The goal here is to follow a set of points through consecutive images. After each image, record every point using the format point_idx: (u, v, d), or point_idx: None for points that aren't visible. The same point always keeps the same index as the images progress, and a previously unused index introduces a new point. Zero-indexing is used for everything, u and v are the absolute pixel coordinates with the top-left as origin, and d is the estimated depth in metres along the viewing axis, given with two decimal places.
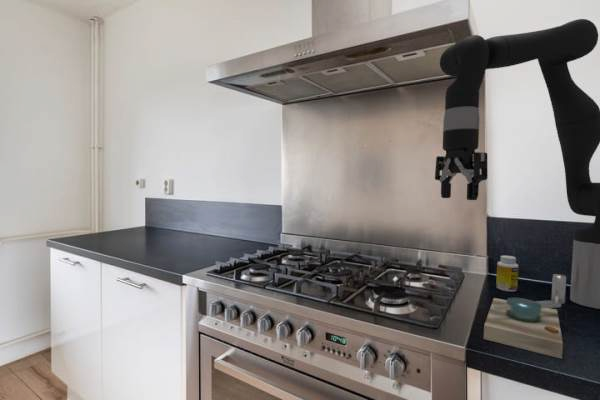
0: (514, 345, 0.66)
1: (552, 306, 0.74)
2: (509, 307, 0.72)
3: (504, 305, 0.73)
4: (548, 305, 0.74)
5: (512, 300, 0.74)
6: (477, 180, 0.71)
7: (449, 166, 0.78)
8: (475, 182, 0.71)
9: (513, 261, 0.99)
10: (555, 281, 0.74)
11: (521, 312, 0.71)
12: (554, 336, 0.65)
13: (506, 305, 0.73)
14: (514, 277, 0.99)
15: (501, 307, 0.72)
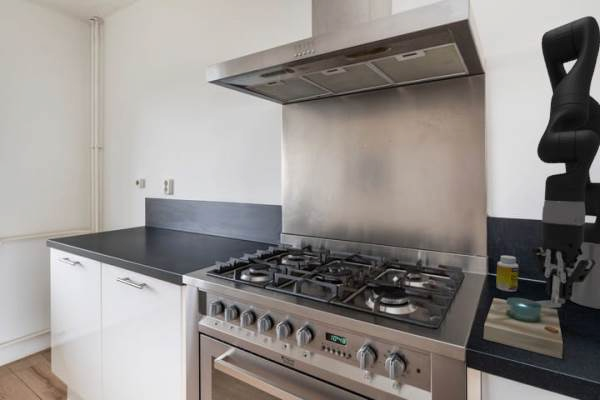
0: (514, 345, 0.66)
1: (552, 306, 0.74)
2: (509, 307, 0.72)
3: (504, 305, 0.73)
4: (548, 305, 0.74)
5: (512, 300, 0.74)
6: None
7: None
8: None
9: (513, 261, 0.99)
10: (555, 281, 0.74)
11: (521, 312, 0.71)
12: (554, 336, 0.65)
13: (506, 305, 0.73)
14: (514, 277, 0.99)
15: (501, 307, 0.72)
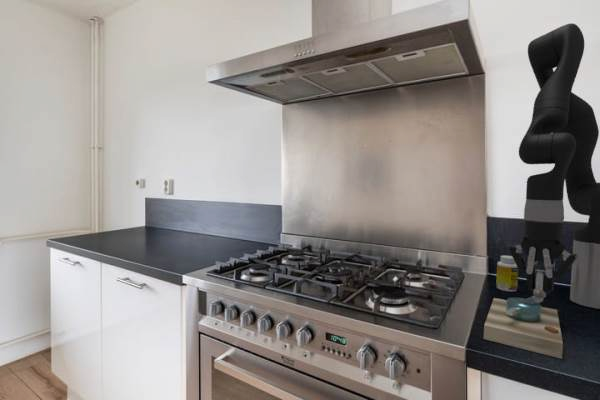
0: (514, 345, 0.66)
1: (539, 301, 0.77)
2: (518, 310, 0.71)
3: (513, 309, 0.71)
4: (537, 301, 0.76)
5: (513, 302, 0.74)
6: None
7: None
8: None
9: (513, 261, 0.99)
10: (539, 277, 0.77)
11: (529, 313, 0.70)
12: (554, 336, 0.65)
13: (515, 308, 0.71)
14: (514, 277, 0.99)
15: (514, 311, 0.69)
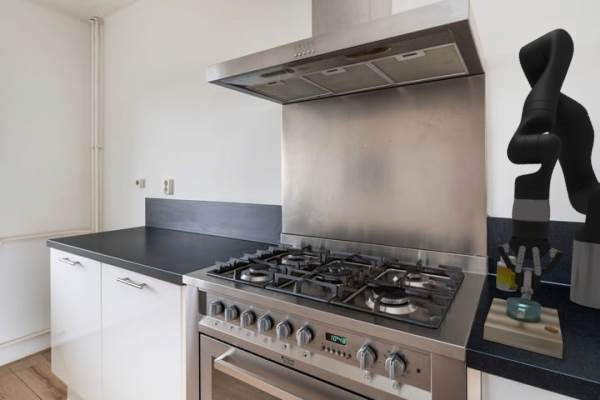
0: (514, 345, 0.66)
1: None
2: (525, 311, 0.70)
3: (521, 310, 0.70)
4: (529, 299, 0.77)
5: (515, 303, 0.73)
6: None
7: None
8: None
9: (513, 261, 0.99)
10: (528, 275, 0.79)
11: (533, 313, 0.70)
12: (554, 336, 0.65)
13: (521, 310, 0.70)
14: (514, 277, 0.99)
15: (523, 314, 0.68)
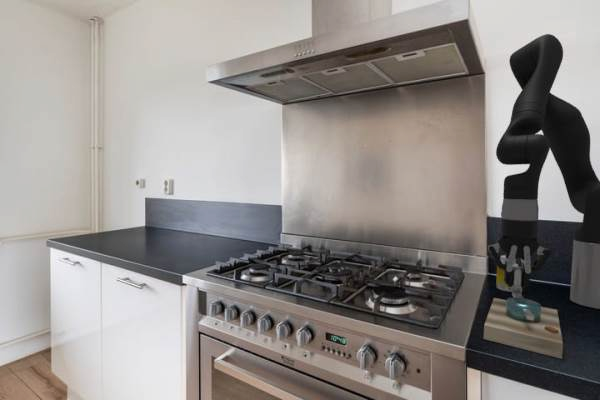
0: (514, 345, 0.66)
1: None
2: None
3: (528, 312, 0.69)
4: (522, 297, 0.78)
5: (517, 303, 0.73)
6: None
7: None
8: (503, 269, 0.82)
9: None
10: (519, 274, 0.80)
11: (537, 313, 0.70)
12: (554, 336, 0.65)
13: (527, 311, 0.69)
14: None
15: None
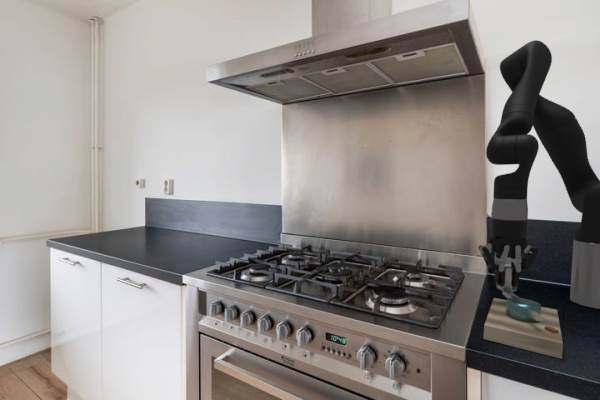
0: (514, 345, 0.66)
1: None
2: None
3: (534, 312, 0.69)
4: None
5: (519, 304, 0.72)
6: None
7: None
8: (494, 269, 0.82)
9: None
10: (510, 273, 0.81)
11: (539, 313, 0.71)
12: (554, 336, 0.65)
13: (533, 312, 0.69)
14: None
15: None
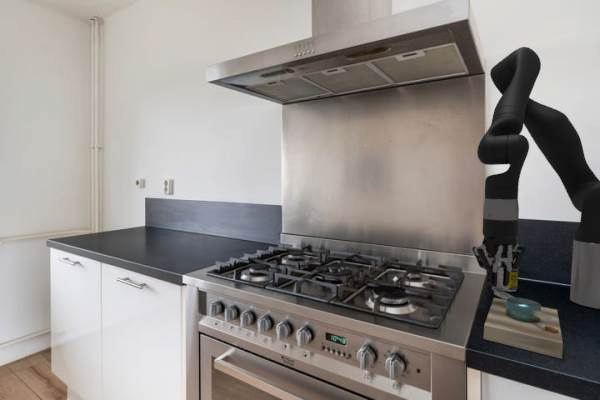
0: (514, 345, 0.66)
1: None
2: None
3: (540, 313, 0.69)
4: None
5: (522, 305, 0.72)
6: (484, 268, 0.82)
7: None
8: (487, 270, 0.82)
9: (513, 261, 0.99)
10: (502, 272, 0.81)
11: (540, 312, 0.71)
12: (554, 336, 0.65)
13: (538, 312, 0.69)
14: (514, 277, 0.99)
15: None
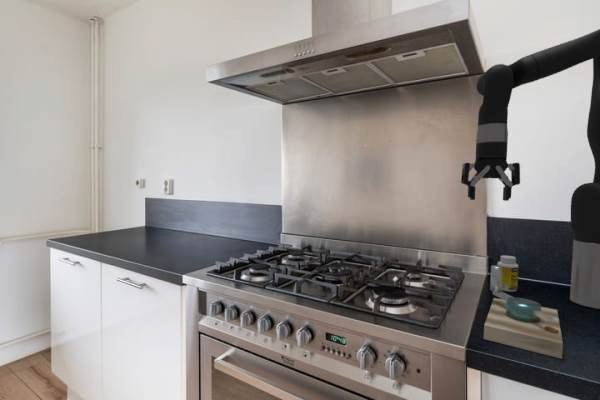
0: (514, 345, 0.66)
1: None
2: None
3: (541, 313, 0.69)
4: None
5: (522, 305, 0.72)
6: None
7: None
8: (467, 185, 0.93)
9: (513, 261, 0.99)
10: (500, 272, 0.81)
11: None
12: (554, 336, 0.65)
13: (539, 312, 0.69)
14: (514, 277, 0.99)
15: None
